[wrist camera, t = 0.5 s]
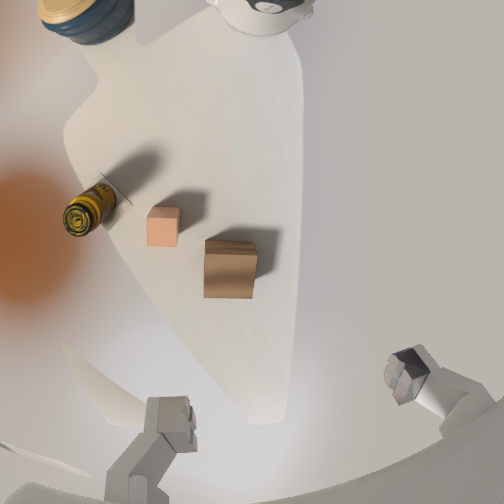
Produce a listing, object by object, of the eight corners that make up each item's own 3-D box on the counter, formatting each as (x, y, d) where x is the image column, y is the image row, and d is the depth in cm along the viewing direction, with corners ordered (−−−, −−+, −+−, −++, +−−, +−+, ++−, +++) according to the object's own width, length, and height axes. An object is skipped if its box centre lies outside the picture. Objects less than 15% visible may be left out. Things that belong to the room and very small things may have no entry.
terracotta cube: (152, 206, 49) (146, 217, 44) (180, 207, 50) (176, 218, 45) (152, 232, 51) (147, 245, 46) (179, 233, 52) (176, 247, 47)
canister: (146, -11, 30) (123, -57, 15) (120, 48, 35) (80, 20, 20) (85, -11, 27) (46, -46, 11) (60, 46, 32) (8, 27, 16)
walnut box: (205, 239, 54) (205, 253, 48) (252, 241, 55) (257, 255, 50) (203, 280, 57) (203, 297, 52) (247, 281, 59) (252, 298, 54)
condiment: (100, 173, 45) (73, 189, 34) (132, 204, 48) (113, 229, 38) (78, 201, 46) (49, 224, 35) (108, 230, 50) (87, 260, 39)
